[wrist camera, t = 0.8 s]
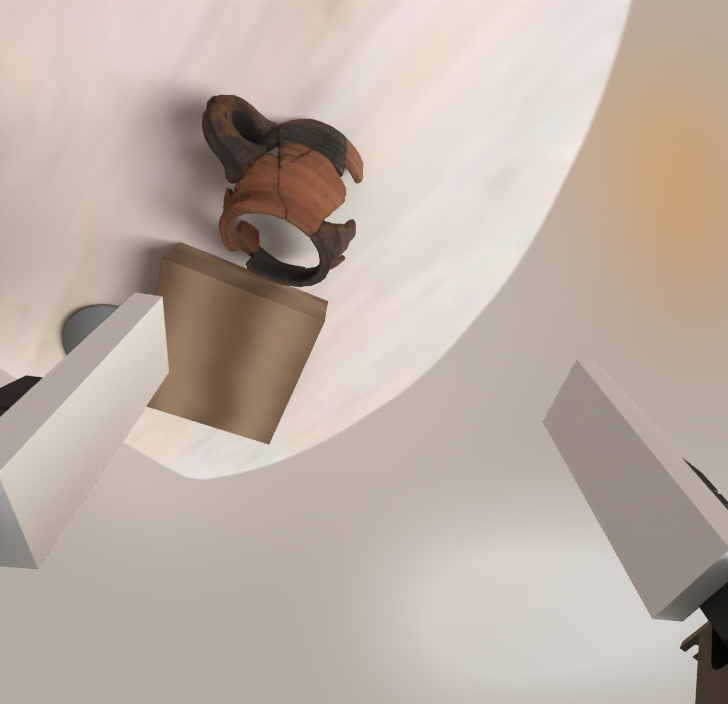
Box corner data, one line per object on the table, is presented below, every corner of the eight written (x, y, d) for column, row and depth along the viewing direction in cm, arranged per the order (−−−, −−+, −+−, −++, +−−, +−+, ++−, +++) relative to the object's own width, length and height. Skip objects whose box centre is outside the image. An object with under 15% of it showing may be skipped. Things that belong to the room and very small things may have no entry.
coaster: (64, 371, 38) (59, 375, 38) (70, 288, 34) (66, 291, 33) (163, 402, 40) (161, 406, 40) (182, 328, 36) (179, 331, 35)
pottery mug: (400, 188, 30) (374, 274, 26) (311, 234, 36) (278, 309, 32) (276, 22, 23) (212, 103, 18) (191, 114, 29) (129, 190, 25)
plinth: (152, 378, 38) (134, 402, 36) (181, 242, 32) (162, 258, 29) (275, 419, 41) (269, 444, 38) (328, 301, 34) (324, 321, 31)
